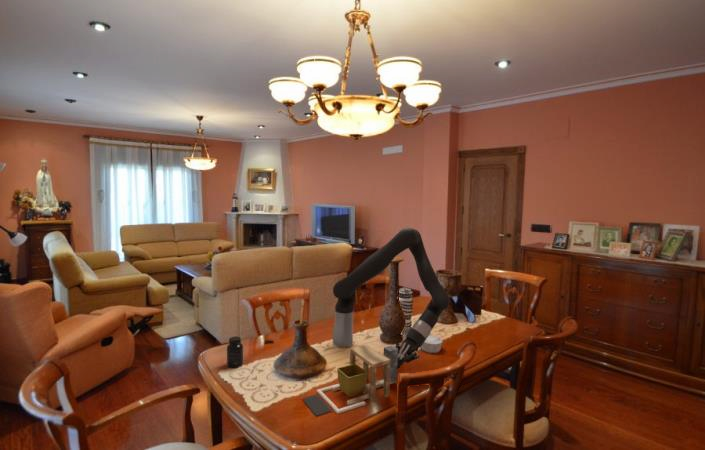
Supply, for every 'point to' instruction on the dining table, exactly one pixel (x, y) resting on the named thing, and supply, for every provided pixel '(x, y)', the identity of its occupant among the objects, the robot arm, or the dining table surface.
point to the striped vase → (406, 307)
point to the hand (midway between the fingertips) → (395, 367)
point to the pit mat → (316, 405)
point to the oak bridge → (372, 367)
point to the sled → (393, 356)
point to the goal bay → (320, 392)
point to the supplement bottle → (235, 352)
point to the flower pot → (352, 379)
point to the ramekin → (432, 344)
